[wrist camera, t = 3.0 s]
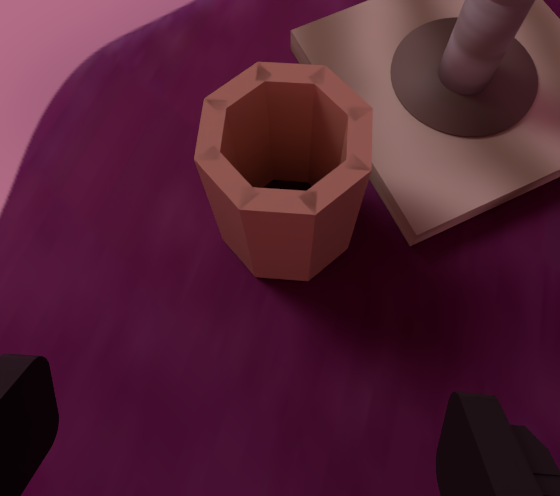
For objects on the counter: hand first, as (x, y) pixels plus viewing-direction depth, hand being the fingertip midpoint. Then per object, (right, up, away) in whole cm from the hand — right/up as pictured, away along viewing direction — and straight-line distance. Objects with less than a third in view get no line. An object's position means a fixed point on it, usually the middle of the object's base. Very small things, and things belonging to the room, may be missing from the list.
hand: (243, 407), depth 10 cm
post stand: (+11, +12, +18) cm, 24 cm away
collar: (+1, +5, +16) cm, 16 cm away
